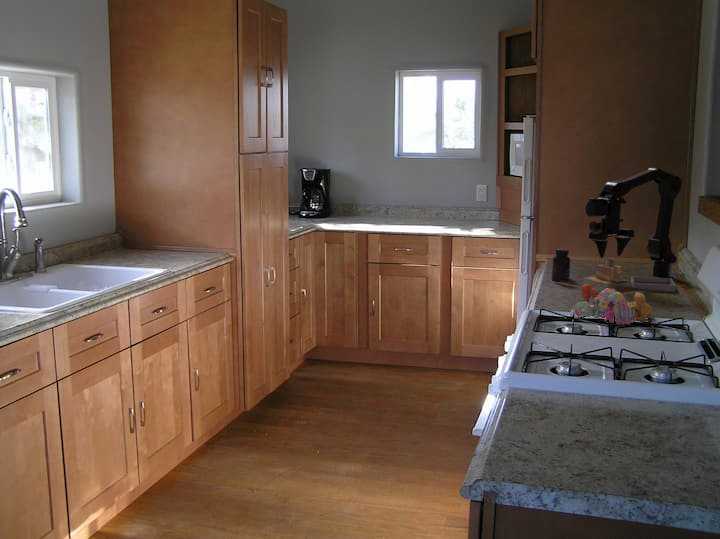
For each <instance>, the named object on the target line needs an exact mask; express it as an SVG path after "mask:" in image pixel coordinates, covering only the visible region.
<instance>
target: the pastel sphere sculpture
mask: <svg viewBox="0 0 720 539" xmlns="http://www.w3.org/2000/svg"><path fill="white" fill-rule="evenodd" d="M580 292H581V294H582V295H581V297H582V299H583V301H580V302H579V301H578V302H576V303H575V304H574V306H573V308H572V309H570V311H571V312H574V313H575V314H576V315H577V316H578V317H579V316H582V317H583V316H585V317H590V316H592V315H593V314H595V315H594V316H593V317H594V318H597V319H600V318H599V317H601V318H605V317H606V319H604V321H606V320H609V321H610V322H611V323H613V322H614V317H615V321H616V324H615V325H618V326H619V325H622V326H624V325H628V326H630V325H631V324H630V323H633V322H635V321H641V322H646V321H649V319H646V318H651V319H654V318H655V316H654V315H653V314H652V313H653V309H652V307H651V305H649V304H648V303H647V302H646V301H647V299H646V295H645V294H644V293H643V292H640V291H639V292H638V291H636V292H635V293H634V294H633V300H632V301H630V302H629V301H626V298H625V296H624V295H623V294H622V293H621V292H620V291H616V289H615V288H610V287H609V288H604V289H603V290H602V291H601V292H600V293H599V290H598V289H597V288H595V287H594V286H593V285H592V284H590V283H585V284H583V285H582V286H581V289H580ZM590 299H592V300H593V301H592V304H590V302H591V301H590ZM598 313H599V314H601V315H599V314H598ZM602 314H603V315H602ZM605 314H606V315H605ZM631 318H632V319H631Z"/></svg>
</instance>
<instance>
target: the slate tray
mask: <svg viewBox="0 0 720 539" xmlns="http://www.w3.org/2000/svg"><path fill="white" fill-rule="evenodd" d="M636 282H637V283H636ZM638 282H639V283H638ZM640 282H641V283H640ZM630 283H631V285H632V289H638V290H637V292H638V291H639V292H640V291H642V292H657V293H659V292H660V293H661V292H662V293H676V290H677V289H676V288H677V285H676V283H675V282H674V280H673V278H660V277H653V276H652V277H650V276H649V277H648V276H630ZM654 283H655V284H654Z"/></svg>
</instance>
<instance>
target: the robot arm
mask: <svg viewBox="0 0 720 539" xmlns="http://www.w3.org/2000/svg"><path fill="white" fill-rule="evenodd" d="M651 181H652V182H653V183H655V184H657V185H658V186H657V187H658V188H657V191H658V193H659V196H660V201H659V202H660V203H659V208H658V215H657V221H656V226H655V233H654V236H653V237H652V238H648V240H647V243H648V244H647V246H646V250H647V253H648V255H649V259H650V261H653V269H652V274H650V275H649V277H650V276H652V277H654V278H671V279H673V278H675V277H674V276H673V275H671V273H672V264H675V263H676V261H677V259H678V258H677V256H676V255H675V253H673V251H672V243H671V241H672V240H671V239H670V230H671V224H672V217H673V211H674V205H675V200H676V198H677V197H678V195H679V194H680V192H681V188H682V186H683V179H682V178H681V177H680V176H679V175H673V174H671V173H669V172H666V171H664V170H662V169H661V168H659V167H649V168H648V169H646V170H643V171H641V172H639V173H636V174H634V175H631V176H628V177H626V178H624V179H617V180H612V181H611V180H610V181H608V182H606V183H605V184H604V187H603V189H602V191H601V192H600V194H598V196H597V198H596V197H595V198H594V197H590V198H589V200H588V202H587V204H586V206H585V213H586V215H587V216H588V217H589V218H590V217H593V218H594V217H601V221H600V222H597V221H596V220H594V221H593V220H592V221H590V222H589V225H588V227H589V230H590V231H589V233H588V239H590V241H592V242H594V243H595V245H596V248H597V250H598V254H599V257H600V258H601V259H603V258H604V257H605V253H606V249H607V245H608V242H609V241H608V238H611V237H613V238H615V240H616V254H617V256H618V257H621V256H622V254H623V252H624V250H625V248H626V247H627V246H628V244H629V242H630V241H631V240H632V238H634V237H635V231H634V230H633V229H631V228H624V227H623V228H621V222H622V223H623V222H624V219H623V218H621V215H622V205H623V204H624V205H626V204H627V203H628V202H627V201H626V200H625V198H624V197H625V196H627V194H629V192H631V190H634V189H635V188H637V187H641V186H642V185H644V184H646V183H649V182H651Z"/></svg>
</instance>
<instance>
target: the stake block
mask: <svg viewBox="0 0 720 539" xmlns="http://www.w3.org/2000/svg"><path fill="white" fill-rule="evenodd" d="M604 260H605V264H606V267H613V265H614V262H615V261H616V260H615V258H611V257H610V258H609V257H605V258H604ZM582 279H584V280H588V281H593V282H598V283H602V284H612V283H613V284H614V283H620V282H629V279H624V278H622V281H607V280H603V279H598V278H596V275H595V276H588V277H582Z"/></svg>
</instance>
